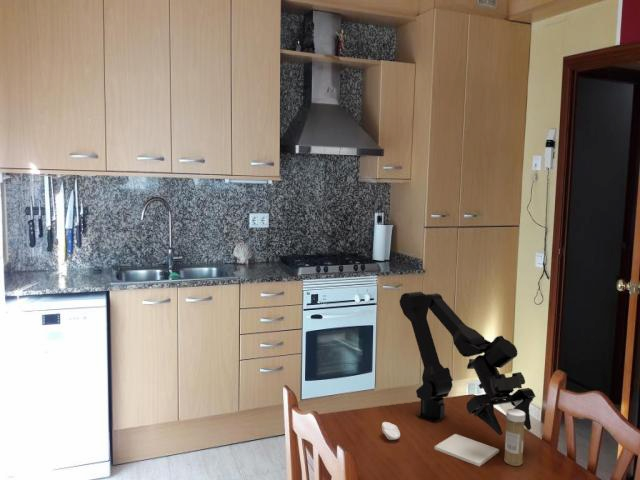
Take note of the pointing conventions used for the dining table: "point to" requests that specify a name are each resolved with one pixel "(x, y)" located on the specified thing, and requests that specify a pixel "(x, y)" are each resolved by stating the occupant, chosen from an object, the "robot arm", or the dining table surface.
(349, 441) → the dining table surface
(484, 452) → the ceramic tile
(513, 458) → the sprinkles bottle
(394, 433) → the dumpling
